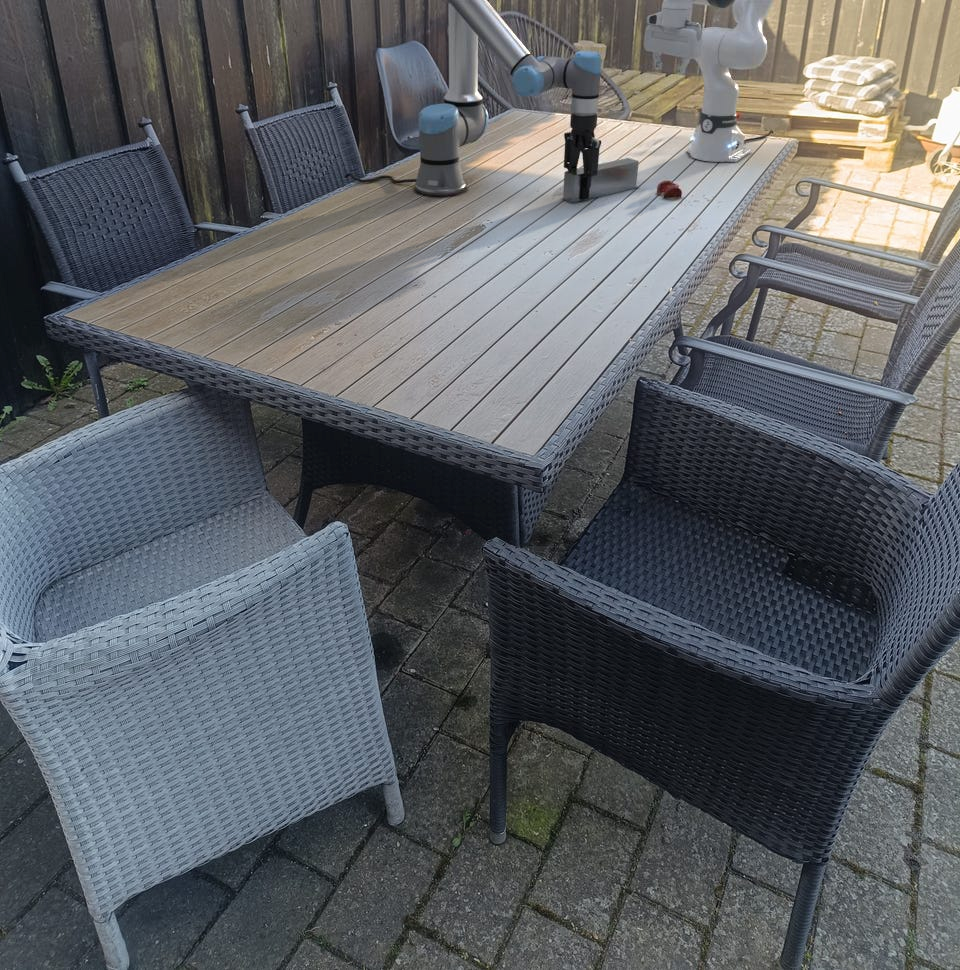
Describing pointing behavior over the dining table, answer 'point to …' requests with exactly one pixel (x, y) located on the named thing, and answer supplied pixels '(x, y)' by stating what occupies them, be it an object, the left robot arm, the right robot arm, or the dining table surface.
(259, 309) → the dining table surface
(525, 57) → the left robot arm
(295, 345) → the dining table surface
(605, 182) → the bar
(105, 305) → the dining table surface
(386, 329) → the dining table surface
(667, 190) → the dental model
